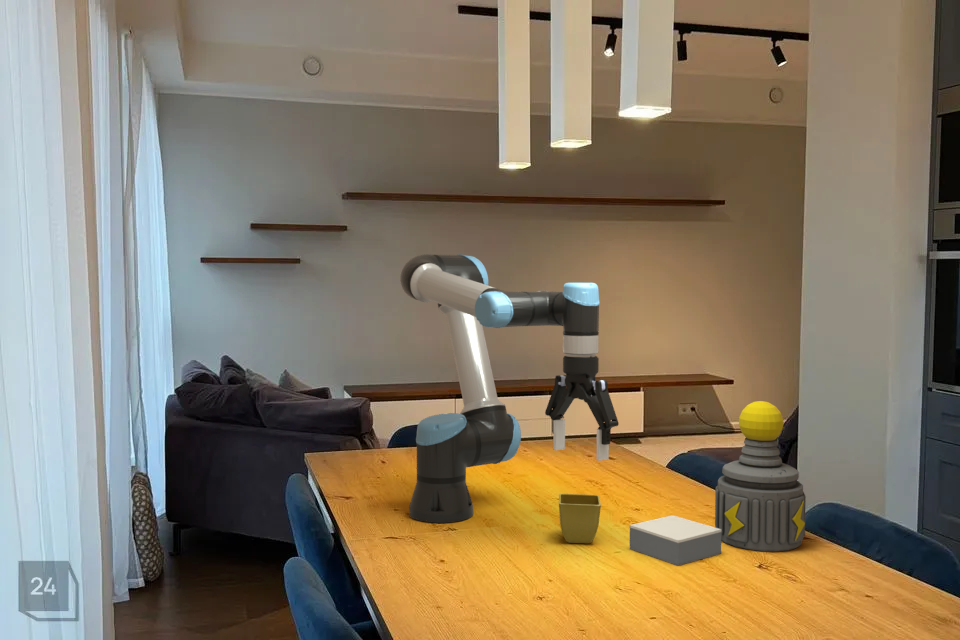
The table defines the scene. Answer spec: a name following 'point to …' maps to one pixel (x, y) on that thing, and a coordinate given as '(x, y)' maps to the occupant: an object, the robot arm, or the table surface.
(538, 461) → the table surface
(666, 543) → the plinth
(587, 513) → the flower pot
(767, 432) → the decorative lamp
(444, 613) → the table surface
